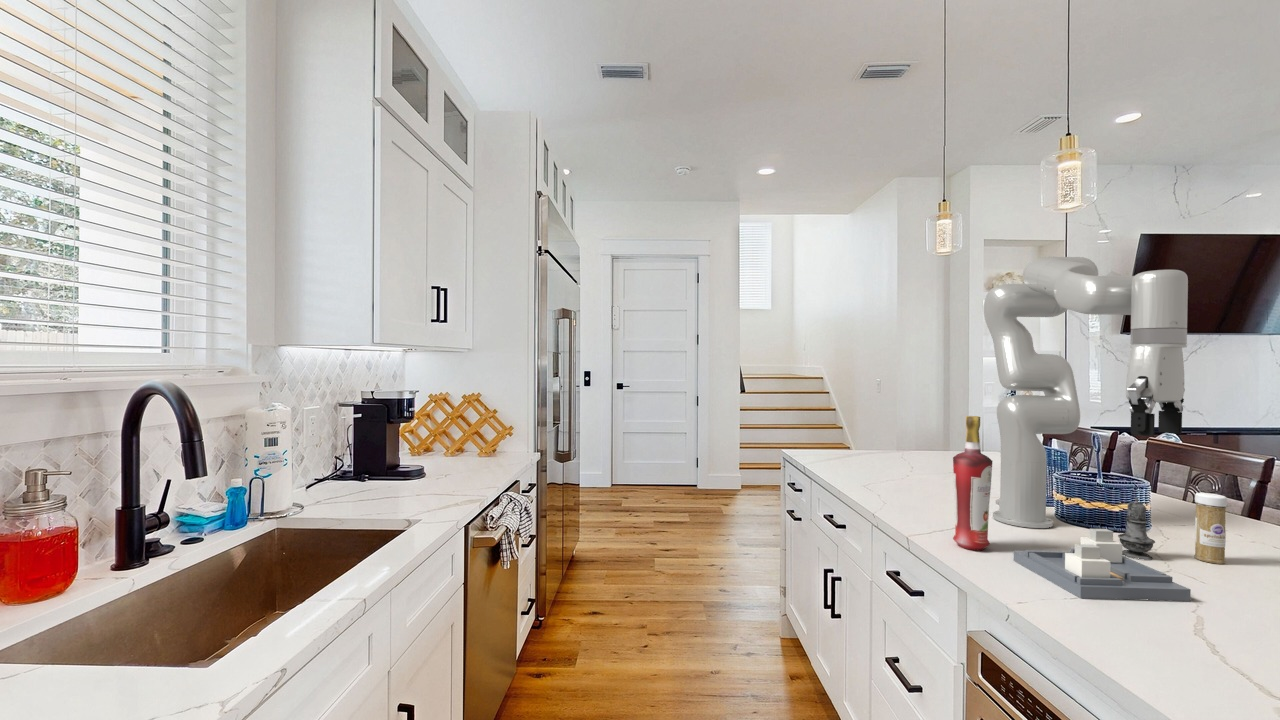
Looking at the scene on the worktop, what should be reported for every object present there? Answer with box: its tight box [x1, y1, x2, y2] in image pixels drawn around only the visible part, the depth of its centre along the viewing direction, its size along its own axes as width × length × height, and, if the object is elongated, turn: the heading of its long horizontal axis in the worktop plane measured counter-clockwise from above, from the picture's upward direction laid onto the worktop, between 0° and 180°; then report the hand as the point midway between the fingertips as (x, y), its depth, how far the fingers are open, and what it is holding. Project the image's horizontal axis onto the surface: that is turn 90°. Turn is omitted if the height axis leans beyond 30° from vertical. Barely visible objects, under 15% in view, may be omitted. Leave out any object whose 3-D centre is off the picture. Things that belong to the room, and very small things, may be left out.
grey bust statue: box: [1117, 497, 1156, 561], centre depth 118 cm, size 6×6×12 cm
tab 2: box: [1065, 543, 1110, 578], centre depth 99 cm, size 4×5×6 cm
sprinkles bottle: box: [1193, 492, 1228, 565], centre depth 115 cm, size 5×5×14 cm
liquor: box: [952, 415, 993, 551], centre depth 122 cm, size 7×7×28 cm
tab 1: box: [1080, 528, 1123, 563], centre depth 109 cm, size 4×5×6 cm
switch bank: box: [1013, 547, 1192, 602], centre depth 104 cm, size 18×18×3 cm
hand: (1156, 434), depth 102 cm, fingers open, 9 cm apart
